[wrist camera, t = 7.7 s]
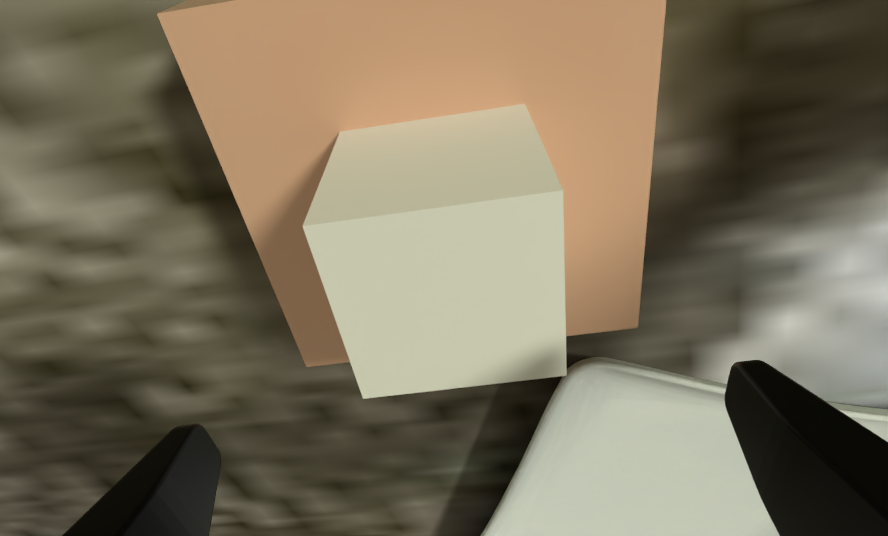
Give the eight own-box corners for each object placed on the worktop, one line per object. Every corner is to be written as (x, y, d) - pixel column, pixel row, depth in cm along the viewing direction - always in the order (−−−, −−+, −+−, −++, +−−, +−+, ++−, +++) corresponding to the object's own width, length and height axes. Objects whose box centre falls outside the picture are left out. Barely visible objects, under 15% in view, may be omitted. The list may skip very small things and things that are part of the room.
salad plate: (559, 310, 24) (575, 366, 21) (945, 384, 27) (1005, 441, 24) (444, 546, 36) (445, 601, 33) (723, 577, 39) (746, 630, 36)
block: (525, 103, 14) (563, 190, 10) (533, 258, 17) (566, 375, 13) (340, 131, 14) (302, 226, 10) (379, 278, 17) (363, 398, 13)
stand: (620, -82, 15) (672, -76, 12) (607, 262, 22) (638, 327, 18) (214, -11, 16) (156, 13, 12) (324, 299, 23) (306, 367, 19)
